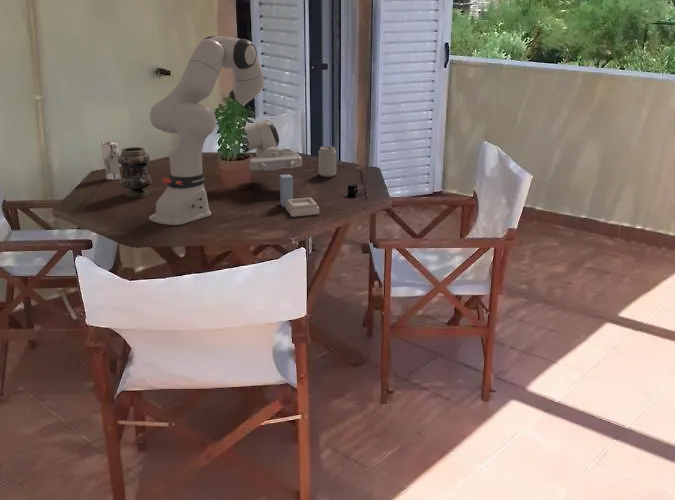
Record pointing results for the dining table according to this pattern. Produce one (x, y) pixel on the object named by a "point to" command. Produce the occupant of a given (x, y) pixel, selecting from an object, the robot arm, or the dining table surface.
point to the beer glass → (111, 159)
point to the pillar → (286, 188)
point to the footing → (301, 207)
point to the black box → (352, 191)
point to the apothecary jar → (135, 171)
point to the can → (327, 161)
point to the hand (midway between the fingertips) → (279, 167)
